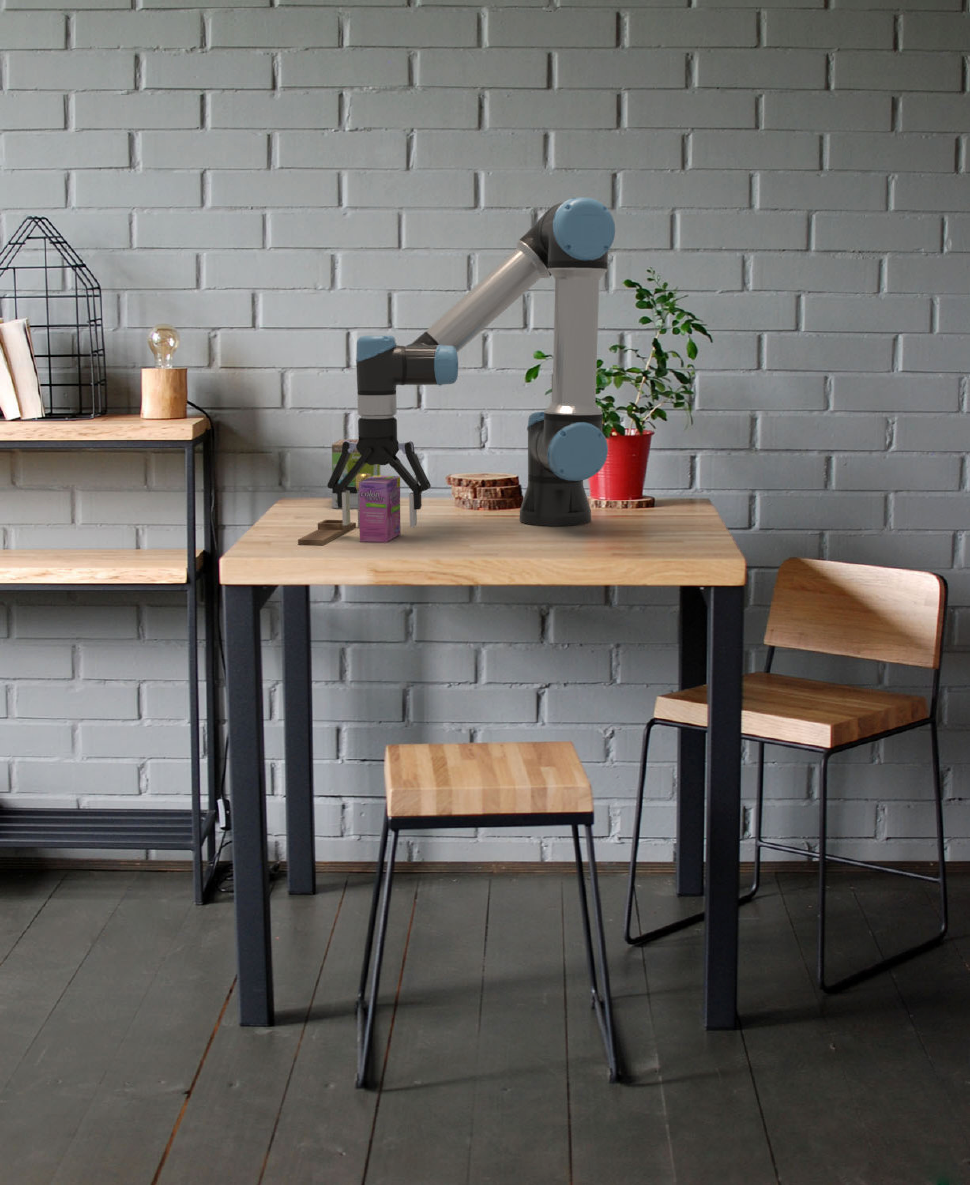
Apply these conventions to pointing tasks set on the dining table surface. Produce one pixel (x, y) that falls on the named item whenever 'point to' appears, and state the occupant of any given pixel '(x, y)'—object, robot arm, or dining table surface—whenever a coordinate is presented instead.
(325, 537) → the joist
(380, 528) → the box
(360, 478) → the silver gold cylinder
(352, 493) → the tea box
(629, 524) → the dining table surface
